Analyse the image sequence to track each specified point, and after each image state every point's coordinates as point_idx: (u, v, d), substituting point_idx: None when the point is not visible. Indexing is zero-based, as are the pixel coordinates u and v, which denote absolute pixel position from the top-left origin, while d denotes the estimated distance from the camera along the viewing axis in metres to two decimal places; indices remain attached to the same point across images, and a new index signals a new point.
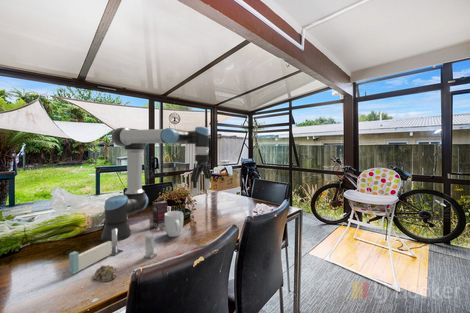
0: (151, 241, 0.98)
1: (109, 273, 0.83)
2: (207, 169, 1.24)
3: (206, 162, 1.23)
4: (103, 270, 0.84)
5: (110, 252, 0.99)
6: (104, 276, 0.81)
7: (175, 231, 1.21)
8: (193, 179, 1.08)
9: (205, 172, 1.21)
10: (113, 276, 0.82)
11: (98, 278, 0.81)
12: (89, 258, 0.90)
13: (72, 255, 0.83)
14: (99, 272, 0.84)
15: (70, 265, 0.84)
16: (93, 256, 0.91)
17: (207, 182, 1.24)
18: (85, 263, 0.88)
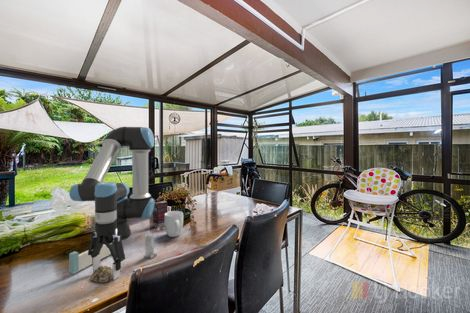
0: (151, 241, 0.98)
1: (106, 274, 0.81)
2: None
3: (117, 236, 0.82)
4: (101, 271, 0.83)
5: None
6: (101, 277, 0.80)
7: (175, 231, 1.21)
8: None
9: None
10: (110, 277, 0.81)
11: (95, 279, 0.80)
12: (89, 258, 0.90)
13: (72, 255, 0.83)
14: (96, 273, 0.83)
15: (70, 265, 0.84)
16: None
17: None
18: (85, 263, 0.88)
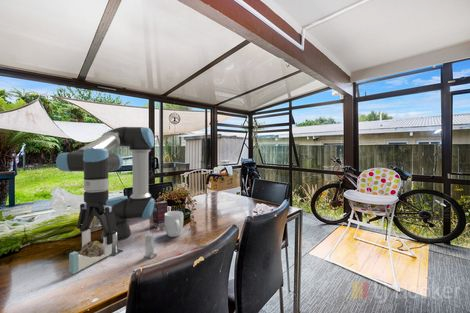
0: (151, 241, 0.98)
1: (96, 248, 0.73)
2: None
3: (109, 206, 0.73)
4: (90, 245, 0.75)
5: (110, 252, 0.99)
6: (91, 251, 0.72)
7: (175, 231, 1.21)
8: None
9: None
10: (101, 252, 0.72)
11: (84, 253, 0.72)
12: (89, 258, 0.90)
13: (72, 255, 0.83)
14: (86, 247, 0.74)
15: (70, 265, 0.84)
16: None
17: None
18: (85, 263, 0.88)
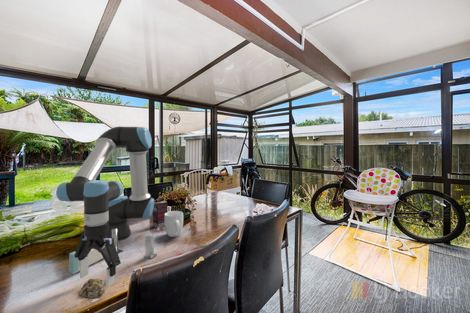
0: (151, 241, 0.98)
1: (96, 288, 0.73)
2: None
3: (109, 238, 0.74)
4: (90, 284, 0.75)
5: None
6: (90, 292, 0.72)
7: (175, 231, 1.21)
8: None
9: None
10: (101, 292, 0.73)
11: (84, 294, 0.72)
12: (89, 258, 0.90)
13: (72, 255, 0.83)
14: (86, 286, 0.75)
15: (70, 265, 0.84)
16: (93, 256, 0.91)
17: None
18: None
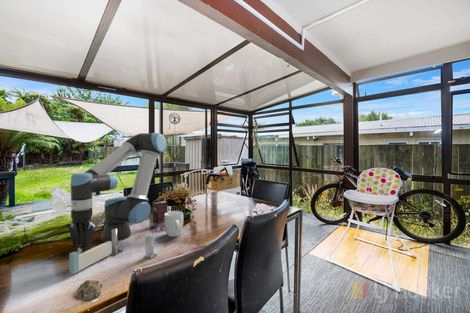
0: (151, 241, 0.98)
1: (92, 290, 0.72)
2: None
3: (93, 225, 0.90)
4: (86, 286, 0.74)
5: (110, 252, 0.99)
6: (86, 294, 0.71)
7: (175, 231, 1.21)
8: None
9: None
10: (96, 294, 0.72)
11: (79, 296, 0.71)
12: (89, 258, 0.90)
13: (72, 255, 0.83)
14: (82, 288, 0.74)
15: (70, 265, 0.84)
16: (93, 256, 0.91)
17: None
18: (85, 264, 0.88)
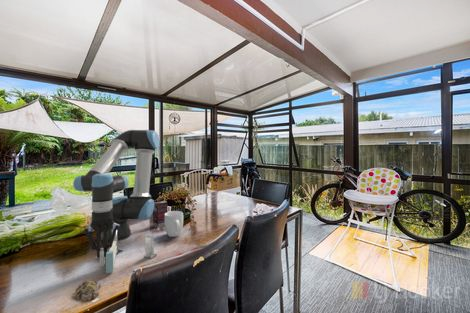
0: (151, 241, 0.98)
1: (90, 291, 0.72)
2: (112, 233, 0.90)
3: (118, 224, 0.91)
4: (85, 287, 0.74)
5: None
6: (84, 294, 0.71)
7: (175, 231, 1.21)
8: None
9: (104, 236, 0.89)
10: (94, 295, 0.71)
11: (77, 296, 0.71)
12: (113, 257, 0.91)
13: (111, 254, 0.85)
14: (80, 289, 0.74)
15: (108, 265, 0.84)
16: (114, 255, 0.93)
17: None
18: None
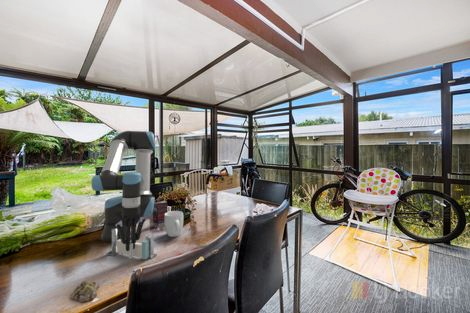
0: (151, 241, 0.98)
1: (88, 292, 0.72)
2: (138, 227, 0.97)
3: (143, 218, 0.99)
4: (83, 287, 0.73)
5: None
6: (82, 295, 0.71)
7: (175, 231, 1.21)
8: None
9: (132, 230, 0.95)
10: (92, 296, 0.71)
11: (75, 297, 0.70)
12: None
13: (148, 241, 0.97)
14: (78, 290, 0.73)
15: (146, 251, 0.96)
16: None
17: None
18: None
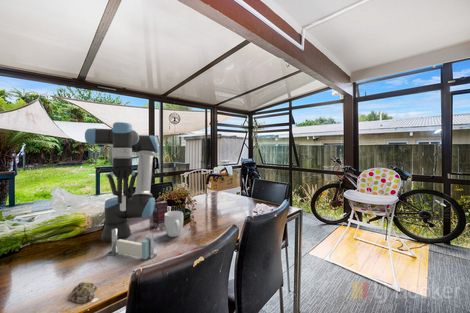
0: (151, 241, 0.98)
1: (86, 293, 0.71)
2: (131, 180, 0.95)
3: (135, 172, 0.96)
4: (80, 288, 0.73)
5: None
6: (79, 296, 0.70)
7: (175, 231, 1.21)
8: None
9: (124, 183, 0.92)
10: (90, 297, 0.70)
11: (73, 299, 0.70)
12: None
13: (148, 241, 0.97)
14: (76, 291, 0.73)
15: (146, 251, 0.96)
16: None
17: None
18: None
